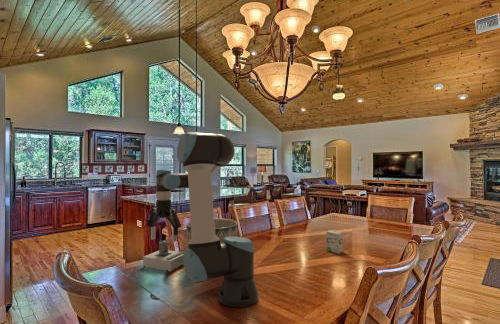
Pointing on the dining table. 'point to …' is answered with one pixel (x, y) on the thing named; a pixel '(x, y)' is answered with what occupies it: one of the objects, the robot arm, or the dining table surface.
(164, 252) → the metal cylinder
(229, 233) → the planter
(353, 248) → the dining table surface
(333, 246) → the ink box
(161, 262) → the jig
